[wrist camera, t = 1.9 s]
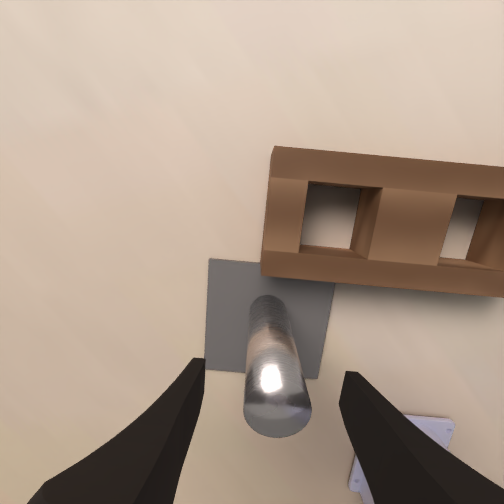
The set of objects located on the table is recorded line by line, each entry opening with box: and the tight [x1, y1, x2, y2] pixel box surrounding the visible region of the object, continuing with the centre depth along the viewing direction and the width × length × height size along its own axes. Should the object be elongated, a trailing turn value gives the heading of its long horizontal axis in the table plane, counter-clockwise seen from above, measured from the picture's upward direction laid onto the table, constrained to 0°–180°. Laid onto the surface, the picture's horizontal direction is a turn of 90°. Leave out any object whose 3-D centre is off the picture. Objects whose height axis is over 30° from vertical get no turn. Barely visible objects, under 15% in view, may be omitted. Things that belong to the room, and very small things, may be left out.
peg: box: [243, 295, 312, 438], centre depth 15 cm, size 3×3×9 cm
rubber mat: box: [204, 258, 335, 379], centre depth 19 cm, size 10×10×1 cm
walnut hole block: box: [260, 146, 504, 298], centre depth 16 cm, size 8×18×3 cm, turn 85°
